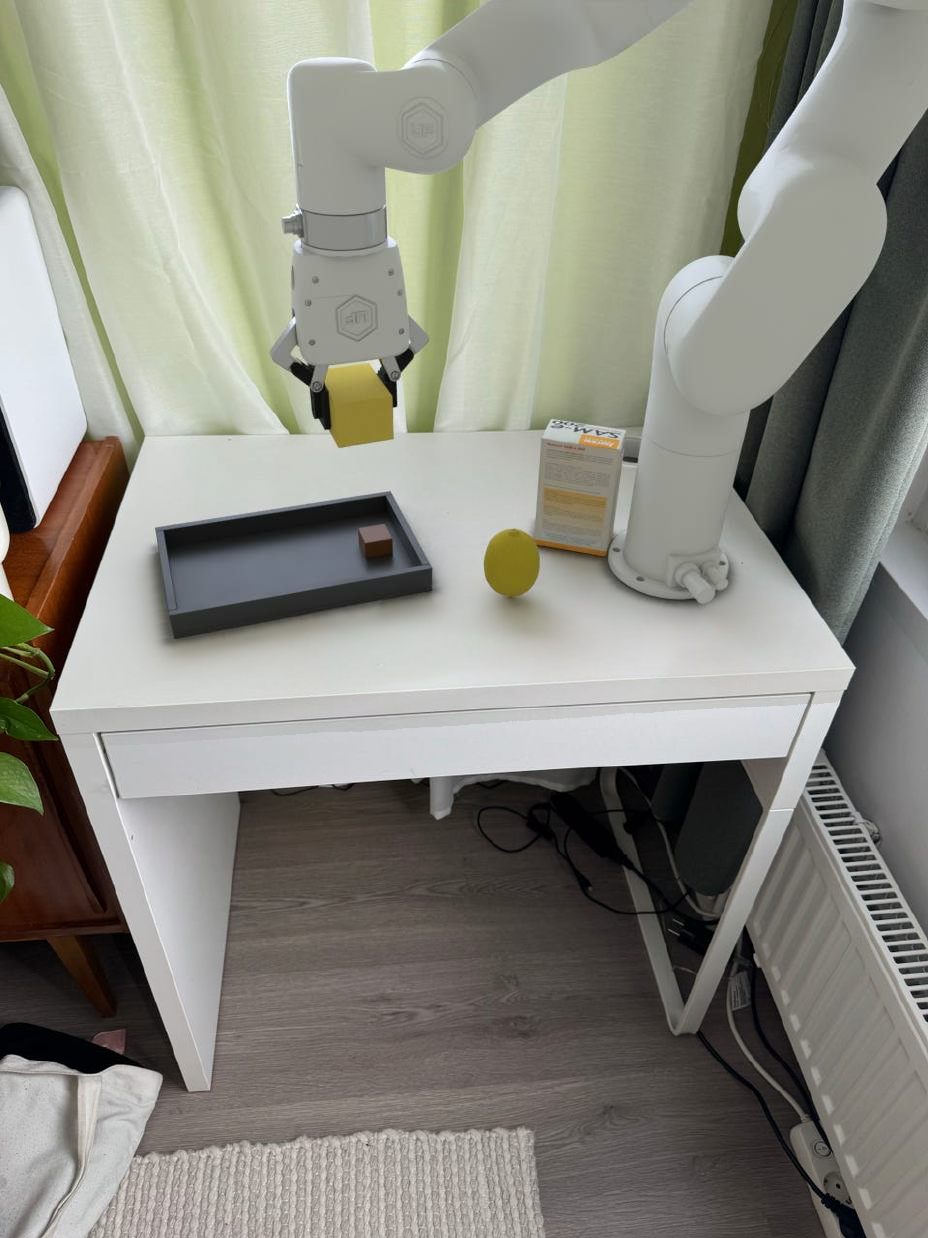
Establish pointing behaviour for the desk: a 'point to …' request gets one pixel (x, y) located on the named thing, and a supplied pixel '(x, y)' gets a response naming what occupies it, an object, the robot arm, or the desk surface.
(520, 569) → the lemon
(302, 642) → the desk surface
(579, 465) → the supplement box
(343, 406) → the sponge
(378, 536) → the brown block
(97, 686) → the desk surface
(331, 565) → the pan
